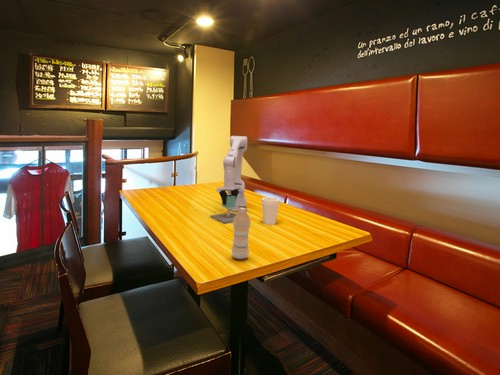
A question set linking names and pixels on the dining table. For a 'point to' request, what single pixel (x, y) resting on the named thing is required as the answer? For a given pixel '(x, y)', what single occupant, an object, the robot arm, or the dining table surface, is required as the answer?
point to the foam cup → (270, 209)
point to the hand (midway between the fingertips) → (228, 203)
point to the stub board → (224, 217)
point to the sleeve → (229, 201)
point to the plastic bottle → (241, 233)
